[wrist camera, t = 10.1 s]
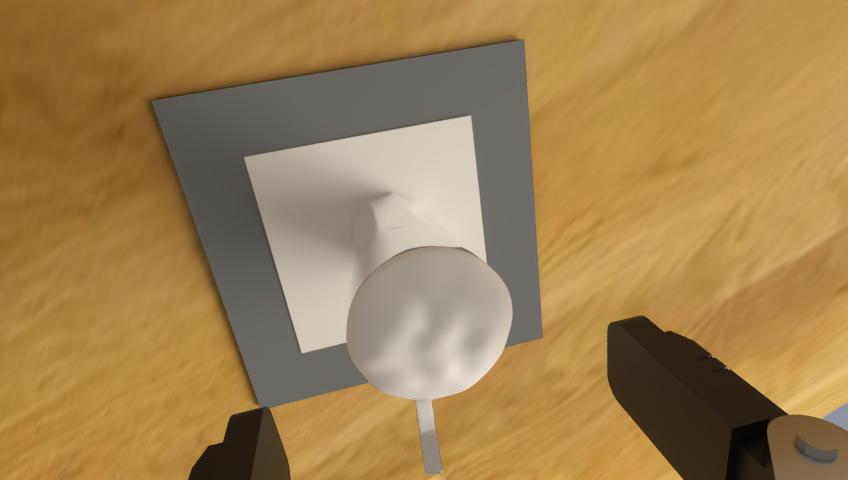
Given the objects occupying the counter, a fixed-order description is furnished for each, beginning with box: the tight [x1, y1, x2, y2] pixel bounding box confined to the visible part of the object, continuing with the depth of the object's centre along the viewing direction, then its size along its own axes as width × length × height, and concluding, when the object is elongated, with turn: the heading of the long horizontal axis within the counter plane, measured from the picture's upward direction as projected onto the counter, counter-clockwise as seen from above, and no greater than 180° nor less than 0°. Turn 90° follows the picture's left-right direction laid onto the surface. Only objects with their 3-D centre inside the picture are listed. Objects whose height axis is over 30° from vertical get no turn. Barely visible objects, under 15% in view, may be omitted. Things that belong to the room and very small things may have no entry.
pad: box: [152, 40, 543, 408], centre depth 20 cm, size 14×14×1 cm
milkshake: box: [346, 193, 513, 474], centre depth 16 cm, size 4×5×10 cm
